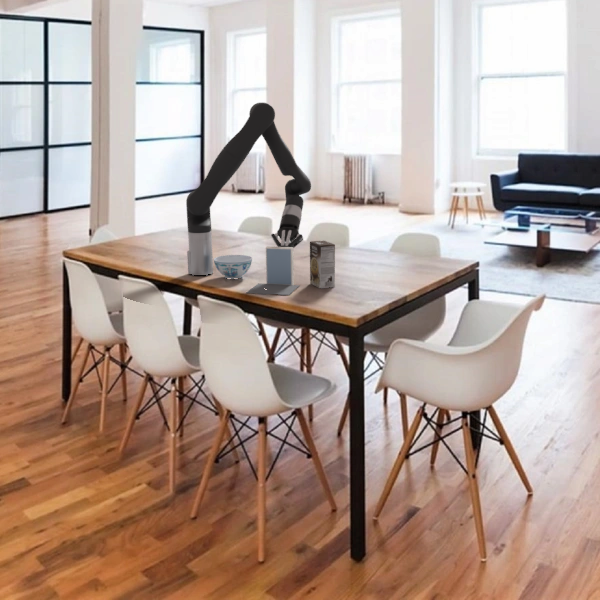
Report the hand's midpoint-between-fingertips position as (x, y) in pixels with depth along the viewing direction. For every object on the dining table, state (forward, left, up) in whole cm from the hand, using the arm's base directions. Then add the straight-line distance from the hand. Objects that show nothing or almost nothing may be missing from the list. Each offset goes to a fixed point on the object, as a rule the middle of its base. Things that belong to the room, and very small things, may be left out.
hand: (283, 255), depth 274 cm
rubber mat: (0, -14, -10) cm, 17 cm away
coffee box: (+16, -4, -10) cm, 19 cm away
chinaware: (-21, +2, -10) cm, 23 cm away
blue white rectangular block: (0, -5, -10) cm, 11 cm away
